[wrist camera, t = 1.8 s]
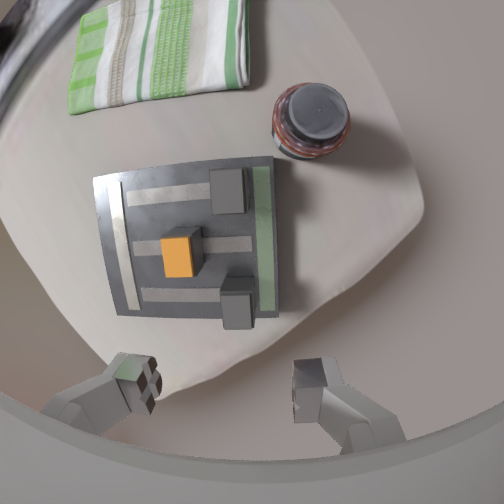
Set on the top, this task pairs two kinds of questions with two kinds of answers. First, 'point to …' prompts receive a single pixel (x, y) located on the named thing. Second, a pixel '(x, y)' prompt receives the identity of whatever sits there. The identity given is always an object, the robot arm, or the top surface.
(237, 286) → the block
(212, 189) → the block
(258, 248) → the panel
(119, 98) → the dish towel
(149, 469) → the robot arm
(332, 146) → the supplement bottle
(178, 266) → the breaker mid
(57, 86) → the top surface
